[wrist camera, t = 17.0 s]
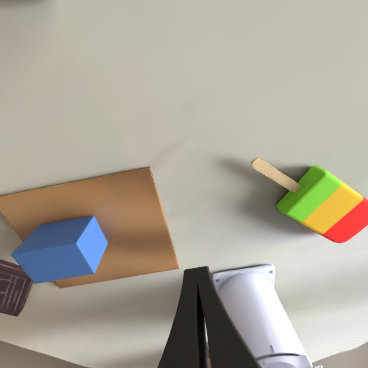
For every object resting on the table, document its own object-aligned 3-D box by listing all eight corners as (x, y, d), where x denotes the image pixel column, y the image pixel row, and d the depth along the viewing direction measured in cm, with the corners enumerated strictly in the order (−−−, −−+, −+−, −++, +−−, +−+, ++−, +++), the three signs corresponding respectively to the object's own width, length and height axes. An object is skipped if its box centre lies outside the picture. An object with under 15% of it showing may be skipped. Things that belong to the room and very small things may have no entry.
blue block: (94, 274, 18) (35, 283, 18) (108, 243, 21) (58, 251, 22) (76, 243, 16) (10, 254, 16) (94, 215, 19) (40, 224, 20)
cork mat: (179, 266, 24) (179, 268, 24) (60, 286, 25) (59, 288, 24) (150, 166, 18) (149, 168, 17) (-8, 197, 18) (-11, 198, 18)
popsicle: (329, 236, 23) (341, 248, 21) (231, 180, 19) (237, 189, 17) (369, 202, 21) (386, 212, 19) (269, 132, 17) (280, 136, 15)
